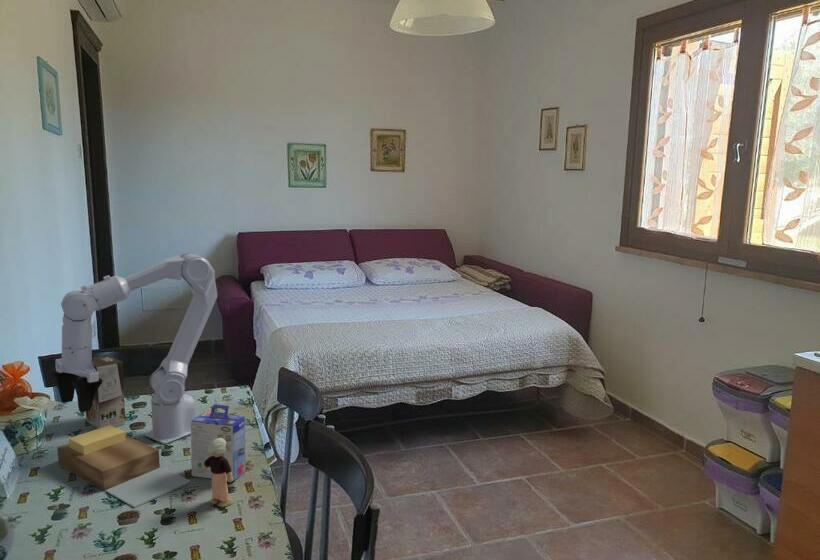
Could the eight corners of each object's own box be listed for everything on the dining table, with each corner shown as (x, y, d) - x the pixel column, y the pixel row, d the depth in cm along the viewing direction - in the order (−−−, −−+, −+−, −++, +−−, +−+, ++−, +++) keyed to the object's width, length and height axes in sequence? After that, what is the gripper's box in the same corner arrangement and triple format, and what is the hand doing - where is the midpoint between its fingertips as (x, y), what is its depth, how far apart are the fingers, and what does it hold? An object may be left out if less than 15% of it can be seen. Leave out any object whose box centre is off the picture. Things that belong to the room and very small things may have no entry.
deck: (113, 445, 137) (112, 428, 136) (159, 467, 127) (158, 450, 126) (58, 464, 127) (57, 447, 126) (104, 490, 117) (102, 471, 116)
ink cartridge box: (247, 470, 127) (246, 405, 125) (234, 482, 121) (233, 415, 119) (205, 464, 129) (202, 400, 126) (190, 477, 123) (188, 410, 121)
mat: (161, 468, 127) (161, 467, 127) (190, 482, 121) (190, 481, 121) (105, 491, 117) (105, 490, 117) (134, 508, 111) (134, 506, 111)
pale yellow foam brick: (110, 433, 134) (110, 424, 134) (125, 440, 131) (125, 431, 130) (69, 447, 127) (68, 438, 126) (84, 454, 123) (83, 445, 123)
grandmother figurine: (242, 500, 115) (241, 437, 113) (230, 510, 111) (228, 446, 109) (209, 492, 117) (207, 431, 115) (196, 502, 114) (194, 439, 112)
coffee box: (127, 424, 149) (123, 361, 146) (100, 431, 144) (95, 367, 142) (111, 414, 155) (108, 354, 152) (85, 421, 150) (81, 359, 148)
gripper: (41, 342, 131) (40, 402, 132) (75, 356, 123) (74, 419, 124) (74, 337, 136) (73, 395, 138) (108, 350, 128) (107, 411, 130)
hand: (75, 406), depth 132 cm, fingers open, 7 cm apart
